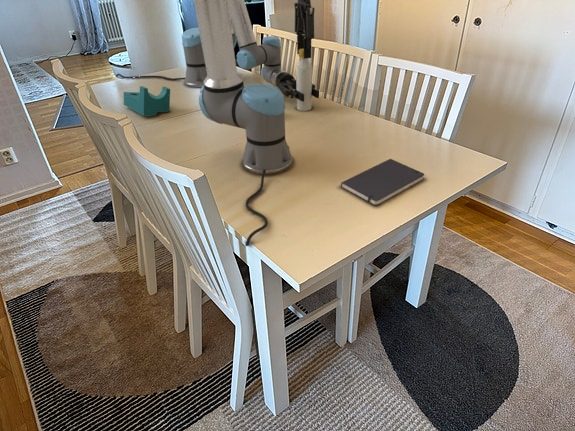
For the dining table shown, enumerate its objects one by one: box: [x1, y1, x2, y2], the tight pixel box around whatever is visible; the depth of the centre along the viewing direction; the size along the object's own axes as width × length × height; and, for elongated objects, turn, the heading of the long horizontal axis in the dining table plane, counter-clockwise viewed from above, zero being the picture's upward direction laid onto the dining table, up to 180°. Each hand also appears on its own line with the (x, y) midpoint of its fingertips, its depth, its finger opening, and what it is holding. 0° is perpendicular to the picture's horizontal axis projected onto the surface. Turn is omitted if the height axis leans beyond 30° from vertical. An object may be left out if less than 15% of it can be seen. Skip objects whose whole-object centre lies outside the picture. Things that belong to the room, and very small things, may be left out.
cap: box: [298, 49, 304, 59], centre depth 151 cm, size 4×4×2 cm
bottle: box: [295, 57, 313, 112], centre depth 157 cm, size 6×6×22 cm
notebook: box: [340, 158, 425, 206], centre depth 114 cm, size 13×2×21 cm
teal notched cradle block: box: [123, 85, 171, 117], centre depth 163 cm, size 18×11×10 cm, turn 43°
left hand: (310, 96), depth 156 cm, fingers closed on bottle, 6 cm apart
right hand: (304, 55), depth 151 cm, fingers open, 6 cm apart
